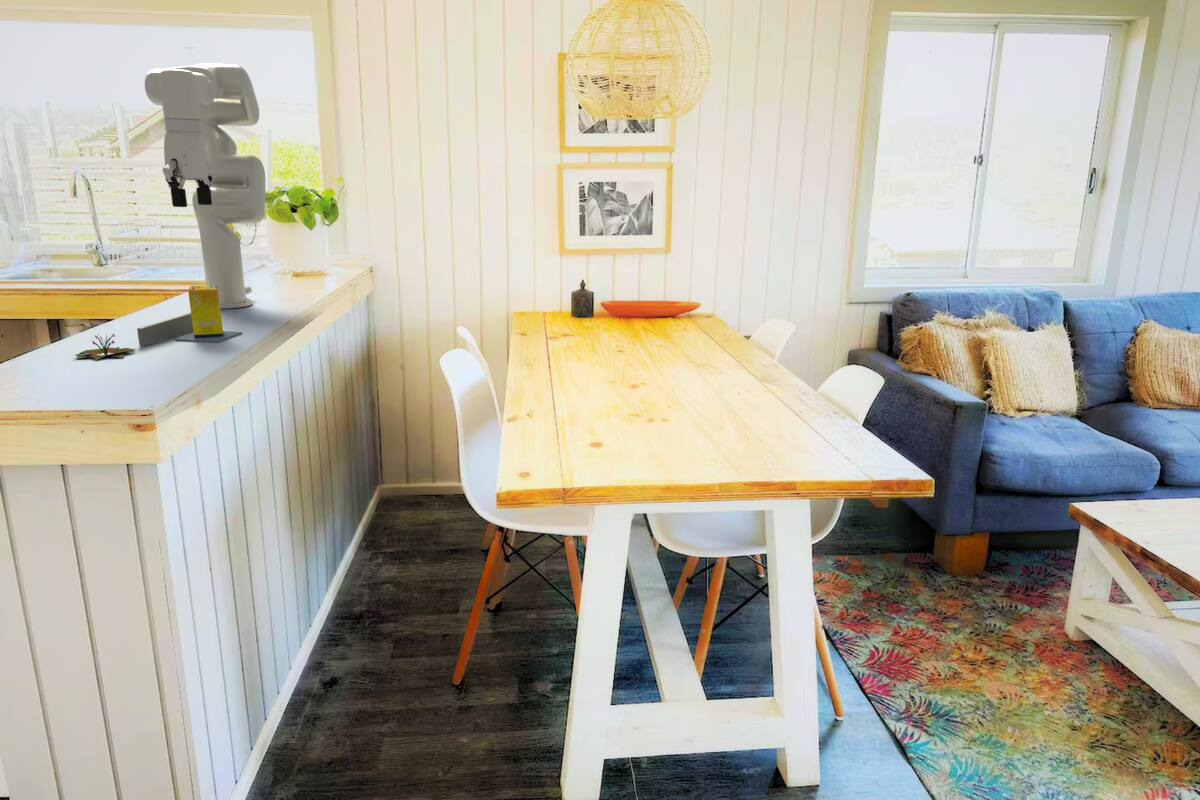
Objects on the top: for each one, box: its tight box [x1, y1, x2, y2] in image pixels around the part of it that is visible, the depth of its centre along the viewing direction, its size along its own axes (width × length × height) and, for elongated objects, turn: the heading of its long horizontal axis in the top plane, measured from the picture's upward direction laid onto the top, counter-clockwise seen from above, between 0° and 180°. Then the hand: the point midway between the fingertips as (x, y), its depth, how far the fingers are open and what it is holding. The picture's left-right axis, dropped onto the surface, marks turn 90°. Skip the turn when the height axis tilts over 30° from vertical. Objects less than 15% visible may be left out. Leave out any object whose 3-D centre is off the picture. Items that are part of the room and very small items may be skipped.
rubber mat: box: [174, 330, 243, 344], centre depth 182 cm, size 10×10×1 cm
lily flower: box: [74, 333, 136, 361], centre depth 164 cm, size 12×12×5 cm
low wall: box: [136, 312, 193, 347], centre depth 182 cm, size 24×1×4 cm, turn 174°
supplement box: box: [187, 285, 224, 338], centre depth 180 cm, size 6×6×11 cm
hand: (192, 205), depth 186 cm, fingers open, 9 cm apart
